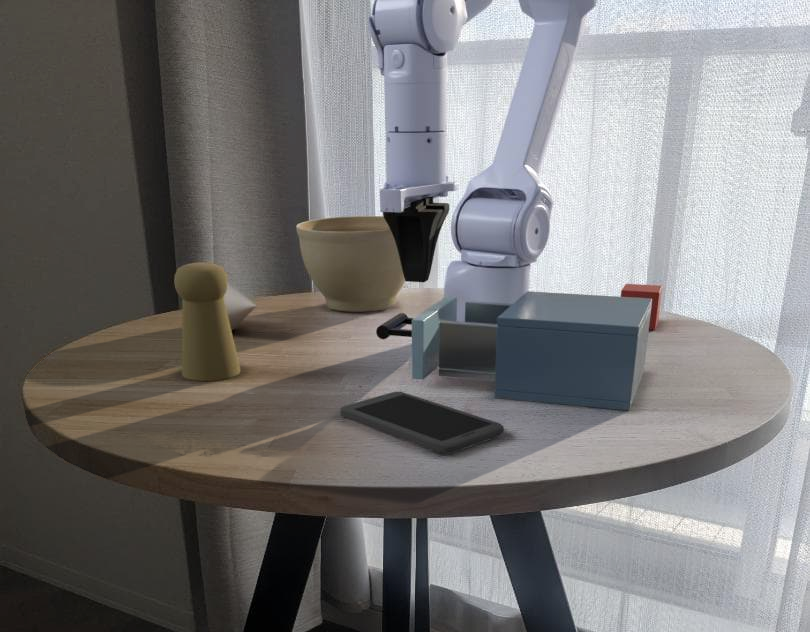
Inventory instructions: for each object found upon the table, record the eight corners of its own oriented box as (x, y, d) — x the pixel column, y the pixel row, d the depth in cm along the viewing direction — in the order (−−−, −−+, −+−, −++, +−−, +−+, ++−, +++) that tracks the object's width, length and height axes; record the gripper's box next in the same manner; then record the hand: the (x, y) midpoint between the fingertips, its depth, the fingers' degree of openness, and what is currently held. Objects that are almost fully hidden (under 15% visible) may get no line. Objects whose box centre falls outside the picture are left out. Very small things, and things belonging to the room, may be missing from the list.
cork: (250, 367, 92) (241, 260, 88) (222, 383, 87) (210, 270, 82) (201, 362, 94) (188, 257, 89) (170, 378, 89) (155, 267, 84)
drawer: (367, 374, 86) (365, 316, 84) (404, 347, 96) (404, 293, 93) (527, 389, 82) (530, 328, 79) (550, 358, 91) (554, 302, 89)
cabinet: (494, 397, 82) (497, 317, 79) (522, 363, 93) (526, 291, 90) (629, 411, 79) (639, 326, 75) (643, 373, 89) (652, 298, 86)
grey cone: (259, 344, 100) (201, 341, 112) (289, 304, 102) (228, 305, 113) (222, 307, 97) (165, 308, 108) (253, 266, 98) (194, 271, 109)
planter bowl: (363, 289, 130) (361, 212, 125) (443, 305, 119) (443, 221, 114) (277, 306, 119) (271, 223, 115) (356, 325, 109) (353, 234, 104)
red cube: (617, 327, 107) (621, 290, 105) (621, 319, 111) (625, 283, 109) (655, 330, 106) (659, 292, 104) (658, 322, 109) (662, 285, 107)
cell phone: (397, 397, 82) (397, 389, 82) (508, 434, 73) (508, 425, 73) (336, 415, 78) (336, 406, 78) (446, 456, 69) (446, 447, 68)
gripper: (432, 135, 74) (432, 297, 80) (477, 128, 86) (474, 269, 92) (356, 134, 76) (361, 293, 82) (410, 128, 88) (411, 266, 94)
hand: (416, 280), depth 87 cm, fingers closed
